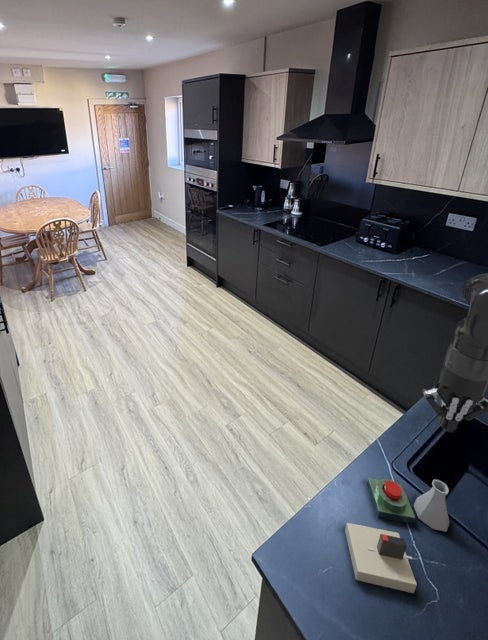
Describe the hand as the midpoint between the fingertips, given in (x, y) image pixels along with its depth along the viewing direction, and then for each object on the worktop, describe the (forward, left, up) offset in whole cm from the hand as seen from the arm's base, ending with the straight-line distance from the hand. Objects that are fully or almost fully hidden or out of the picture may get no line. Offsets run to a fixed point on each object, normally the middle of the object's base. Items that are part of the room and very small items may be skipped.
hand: (446, 428), depth 73 cm
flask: (-1, +2, -26) cm, 26 cm away
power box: (+8, +1, -25) cm, 27 cm away
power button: (+8, +1, -22) cm, 23 cm away
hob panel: (+15, +14, -25) cm, 33 cm away
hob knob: (+13, +14, -22) cm, 29 cm away
